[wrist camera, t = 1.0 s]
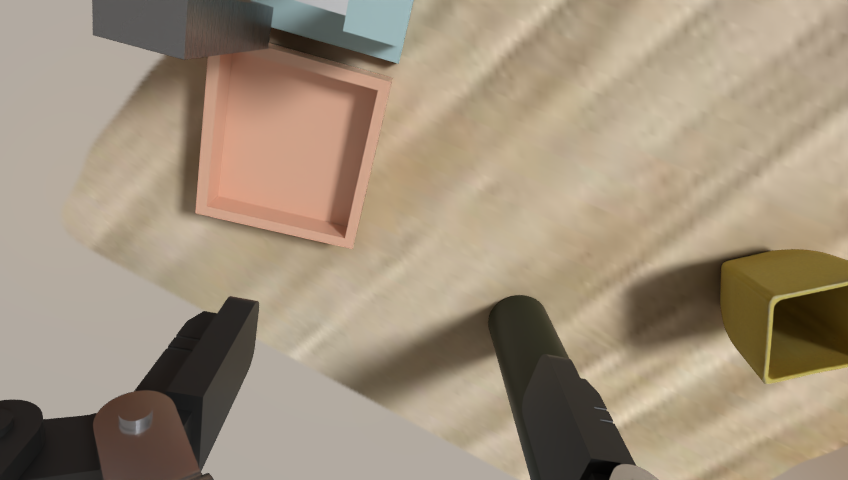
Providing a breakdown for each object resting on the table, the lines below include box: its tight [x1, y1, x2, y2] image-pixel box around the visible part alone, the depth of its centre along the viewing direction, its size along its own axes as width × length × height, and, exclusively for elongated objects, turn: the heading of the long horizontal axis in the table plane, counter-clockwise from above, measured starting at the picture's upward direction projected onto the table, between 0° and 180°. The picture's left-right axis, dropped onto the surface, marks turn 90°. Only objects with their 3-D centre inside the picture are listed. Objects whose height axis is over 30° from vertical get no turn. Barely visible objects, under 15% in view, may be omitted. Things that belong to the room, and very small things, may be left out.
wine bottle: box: [488, 295, 569, 480], centre depth 32 cm, size 6×6×30 cm
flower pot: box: [720, 249, 848, 384], centre depth 41 cm, size 9×9×9 cm
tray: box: [195, 43, 393, 249], centre depth 36 cm, size 14×13×3 cm
